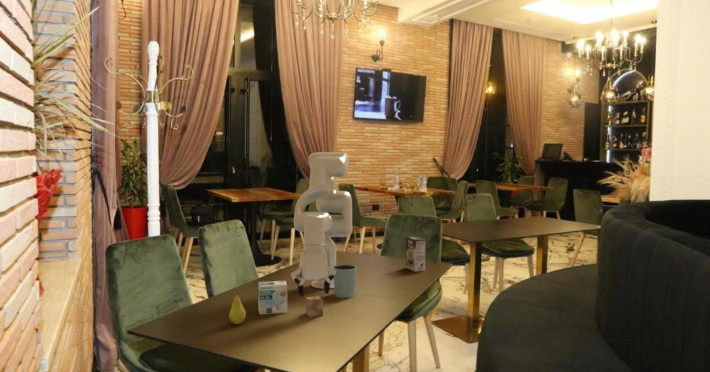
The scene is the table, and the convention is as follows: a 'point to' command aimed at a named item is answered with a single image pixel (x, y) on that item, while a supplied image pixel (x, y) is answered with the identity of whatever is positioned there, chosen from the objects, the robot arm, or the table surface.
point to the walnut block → (314, 306)
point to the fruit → (237, 311)
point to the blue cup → (344, 280)
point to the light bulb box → (272, 297)
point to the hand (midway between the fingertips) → (313, 294)
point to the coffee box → (415, 253)
